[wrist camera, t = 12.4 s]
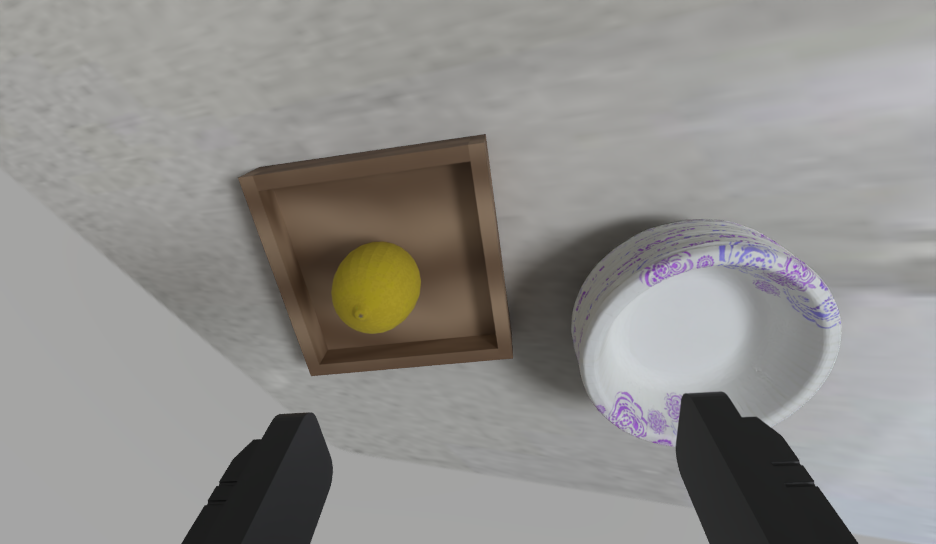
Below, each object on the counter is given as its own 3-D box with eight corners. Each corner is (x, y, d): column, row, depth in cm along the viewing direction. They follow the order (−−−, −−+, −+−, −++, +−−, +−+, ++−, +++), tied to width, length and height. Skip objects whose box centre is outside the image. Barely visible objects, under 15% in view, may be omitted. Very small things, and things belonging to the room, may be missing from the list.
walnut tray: (259, 167, 32) (237, 177, 30) (485, 134, 30) (484, 142, 28) (323, 353, 39) (311, 376, 36) (512, 335, 37) (513, 358, 35)
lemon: (380, 306, 35) (348, 368, 28) (339, 246, 34) (294, 296, 26) (442, 277, 34) (425, 335, 27) (403, 213, 32) (373, 256, 25)
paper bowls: (565, 382, 39) (581, 456, 32) (564, 211, 32) (582, 256, 25) (754, 374, 38) (814, 450, 30) (792, 193, 31) (880, 236, 24)
